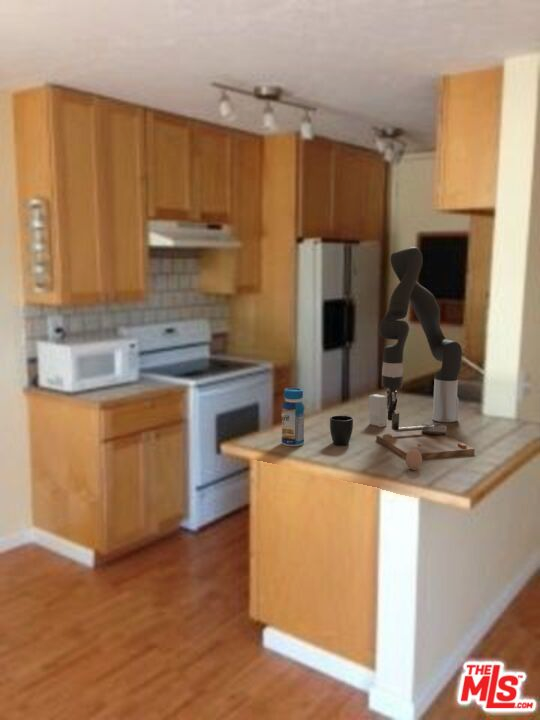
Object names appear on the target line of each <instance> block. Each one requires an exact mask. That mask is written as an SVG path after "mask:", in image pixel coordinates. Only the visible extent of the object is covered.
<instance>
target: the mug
mask: <svg viewBox="0 0 540 720" xmlns="http://www.w3.org/2000/svg"><path fill="white" fill-rule="evenodd" d="M353 428H354V418H353V417H352V416H350V415H349V416H348V415H347V414H346V415H341V414H340V415H337V414H336V415H332V416H330V418H329V431H330V436H331V440H332V443H333V445H334V446H341V447H342V446H343V447H344V446H348V445H349V444H350V440H351V437H352V434H353Z"/></svg>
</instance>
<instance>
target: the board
mask: <svg viewBox="0 0 540 720" xmlns="http://www.w3.org/2000/svg"><path fill="white" fill-rule="evenodd" d="M375 437H376V438H375V440H376V441H377V442H378V443H380V444H382V445H383V446H384V447H387V448H388V449H390V450H392V452H394V453H396V454H397V455H399V456H401V457H402V458H403V459H405V460H406V456H407V454H408V452H409V451H410V450H412V449H416V450H418V451H419V452H420V454H421V456H422V460H427V459H428V460H429V459H438V458H449V457H459V456H460V457H461V456H471V455H473V456H474V455H475V450H476V449H475V448H474V447H472V446H470V445H468V444H466V443H464V442H462V441H459V440H457V439H456V438H453V437H451V436H449V435H447V433H446V434H445V435H428V434H424V433H422V430H420V431H407V432H395V433H383V434H376V435H375Z"/></svg>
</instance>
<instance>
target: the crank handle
mask: <svg viewBox="0 0 540 720" xmlns="http://www.w3.org/2000/svg"><path fill="white" fill-rule="evenodd" d="M447 429H448V426H447V425H446V424H445V423H442V422H425V423H421V425H418V426H417V425H416V426H403V427H400V412H398V411H394V412H393V413H392V421H391V430H393V431H394V432H395V433H403V432H416V431H422V433H424V434H428V435H445V434H446V435H447V432H448V431H447Z"/></svg>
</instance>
